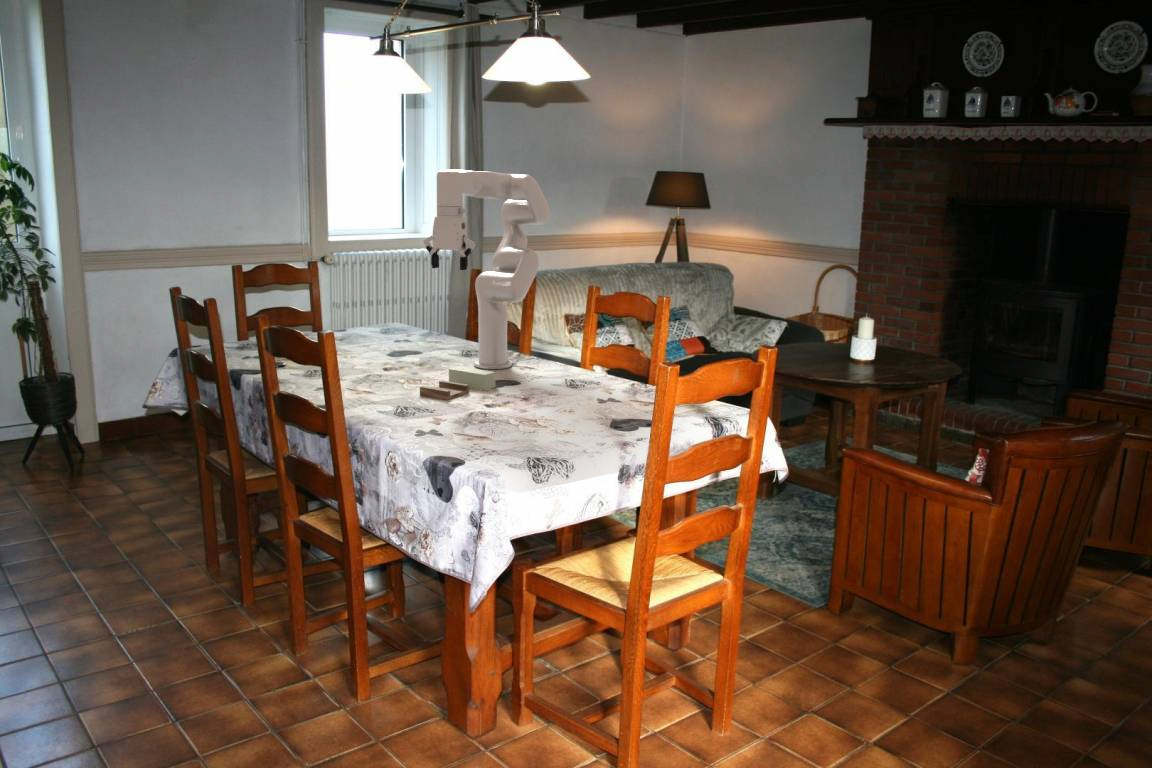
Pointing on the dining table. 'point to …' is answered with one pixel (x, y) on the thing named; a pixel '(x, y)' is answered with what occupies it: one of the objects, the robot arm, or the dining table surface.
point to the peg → (472, 377)
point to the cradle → (445, 390)
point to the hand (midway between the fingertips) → (449, 268)
